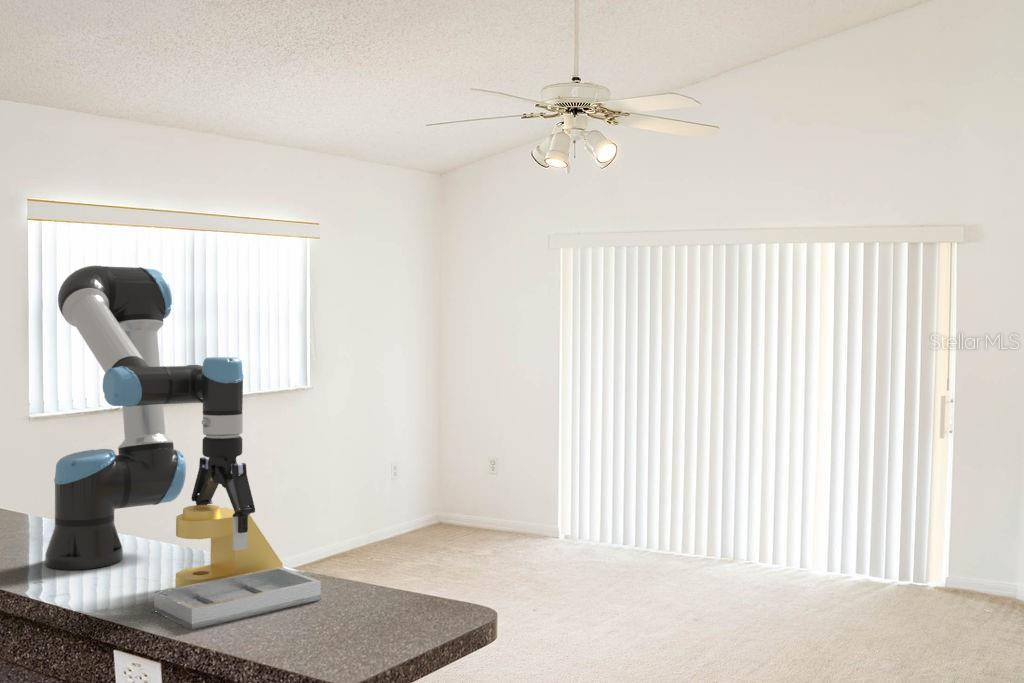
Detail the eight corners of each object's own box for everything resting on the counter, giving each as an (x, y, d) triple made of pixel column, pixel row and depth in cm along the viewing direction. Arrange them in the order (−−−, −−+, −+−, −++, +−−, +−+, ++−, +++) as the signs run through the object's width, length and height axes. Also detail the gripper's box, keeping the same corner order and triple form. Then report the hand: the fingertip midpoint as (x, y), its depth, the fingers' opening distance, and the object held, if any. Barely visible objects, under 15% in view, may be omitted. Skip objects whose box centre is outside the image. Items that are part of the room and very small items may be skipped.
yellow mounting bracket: (190, 600, 179) (191, 515, 179) (166, 590, 186) (167, 507, 185) (282, 580, 194) (283, 501, 193) (257, 571, 200) (258, 495, 200)
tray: (153, 611, 172) (154, 591, 172) (280, 584, 191) (280, 566, 191) (191, 629, 162) (192, 609, 162) (320, 599, 181) (321, 581, 181)
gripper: (174, 432, 194) (174, 536, 195) (238, 442, 177) (237, 557, 177) (208, 429, 200) (208, 531, 200) (273, 439, 182) (273, 550, 183)
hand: (222, 543), depth 189 cm, fingers open, 13 cm apart
